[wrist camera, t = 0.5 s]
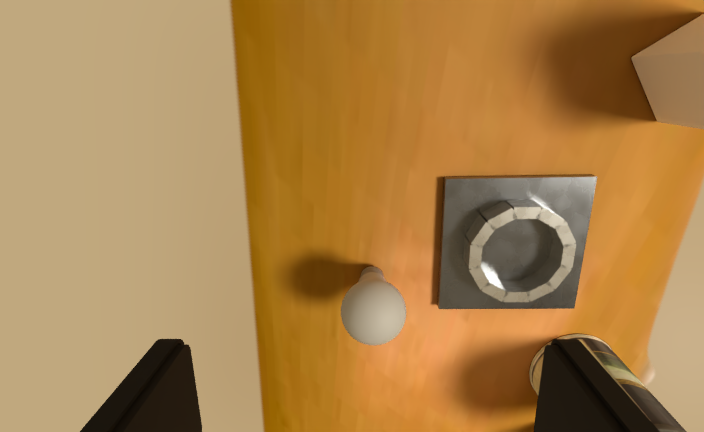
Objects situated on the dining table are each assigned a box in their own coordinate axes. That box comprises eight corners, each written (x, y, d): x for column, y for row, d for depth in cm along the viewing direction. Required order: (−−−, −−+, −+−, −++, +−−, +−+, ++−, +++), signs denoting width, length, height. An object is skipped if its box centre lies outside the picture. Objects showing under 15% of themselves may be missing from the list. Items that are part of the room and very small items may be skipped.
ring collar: (444, 176, 42) (450, 185, 39) (591, 174, 42) (611, 182, 39) (437, 304, 47) (442, 321, 44) (570, 303, 47) (585, 321, 43)
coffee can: (622, 332, 48) (723, 431, 34) (607, 403, 51) (693, 518, 38) (533, 332, 48) (597, 430, 35) (523, 403, 51) (579, 517, 38)
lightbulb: (337, 288, 47) (330, 348, 37) (354, 241, 45) (351, 290, 35) (388, 303, 47) (395, 367, 37) (406, 257, 46) (419, 311, 35)
